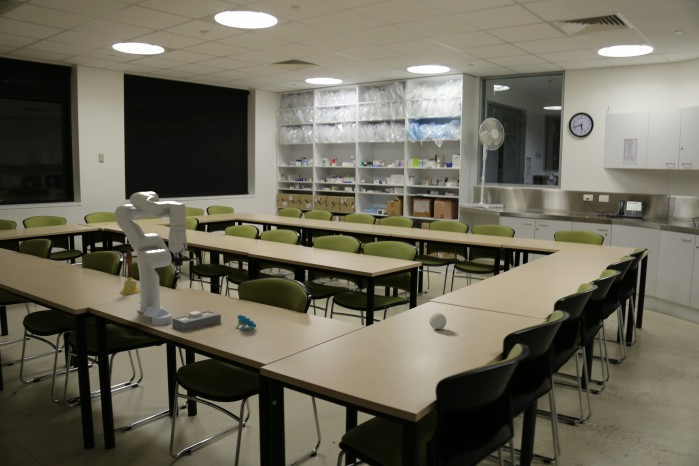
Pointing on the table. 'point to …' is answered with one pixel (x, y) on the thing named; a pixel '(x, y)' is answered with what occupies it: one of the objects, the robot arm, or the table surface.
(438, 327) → the ball
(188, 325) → the button panel
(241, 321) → the blue flower cluster
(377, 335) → the table surface
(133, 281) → the handbell
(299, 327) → the table surface
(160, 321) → the wedge on round base
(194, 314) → the button
